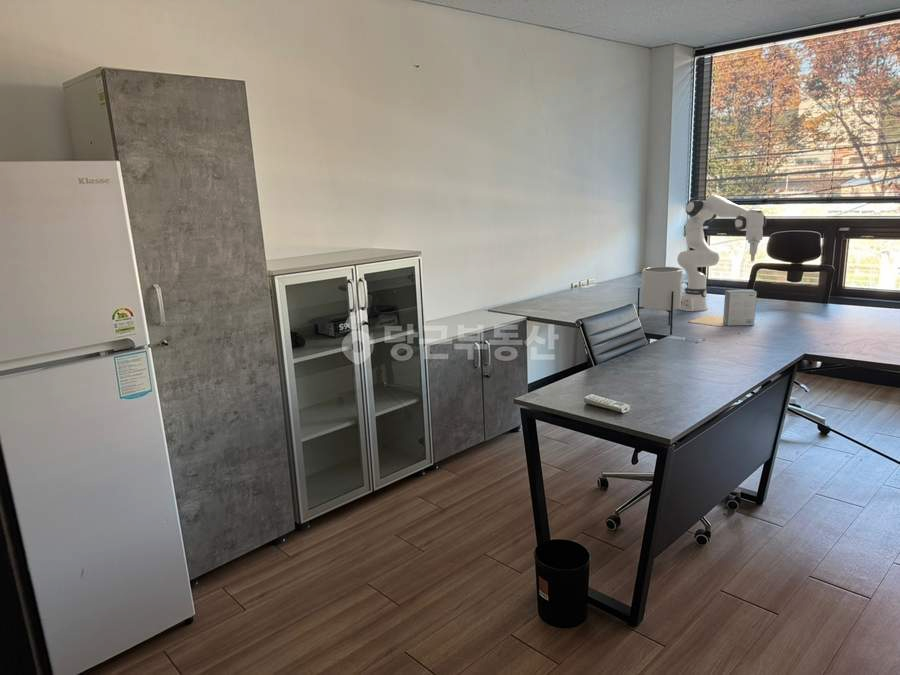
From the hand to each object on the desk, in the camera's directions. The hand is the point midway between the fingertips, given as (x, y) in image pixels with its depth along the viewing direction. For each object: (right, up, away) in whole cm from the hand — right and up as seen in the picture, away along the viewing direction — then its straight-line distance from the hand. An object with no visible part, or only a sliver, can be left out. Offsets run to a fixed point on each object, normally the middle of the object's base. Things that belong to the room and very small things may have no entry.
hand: (752, 260), depth 364 cm
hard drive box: (-11, -38, -4) cm, 40 cm away
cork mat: (-21, -36, +7) cm, 42 cm away
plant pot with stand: (-58, -41, -5) cm, 71 cm away
